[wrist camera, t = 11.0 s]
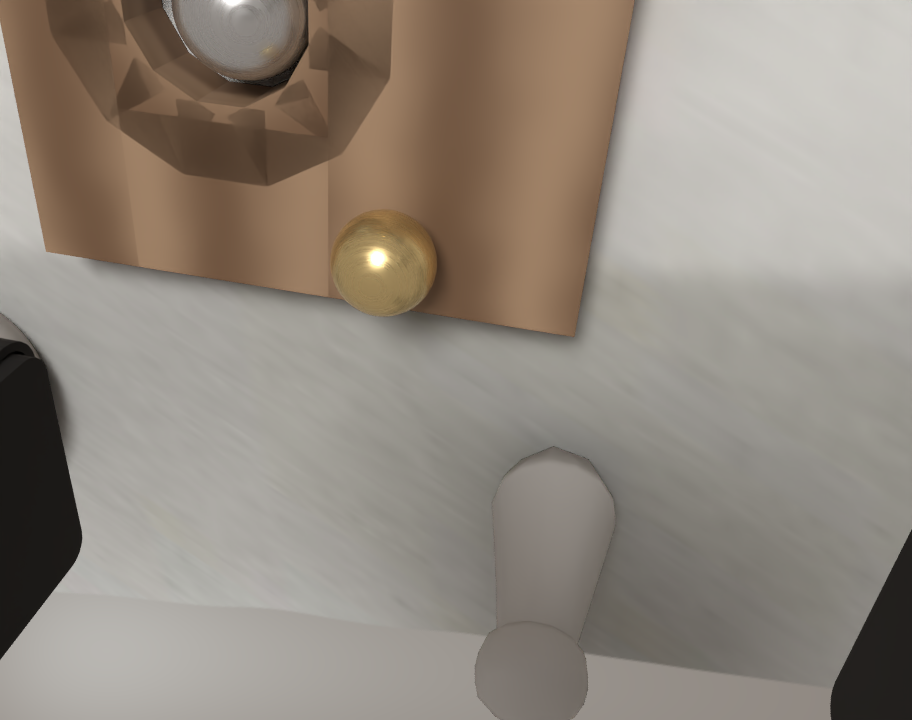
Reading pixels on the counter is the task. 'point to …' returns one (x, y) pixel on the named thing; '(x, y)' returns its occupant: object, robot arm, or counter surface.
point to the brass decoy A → (383, 262)
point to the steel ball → (244, 34)
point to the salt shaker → (544, 585)
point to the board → (330, 144)
